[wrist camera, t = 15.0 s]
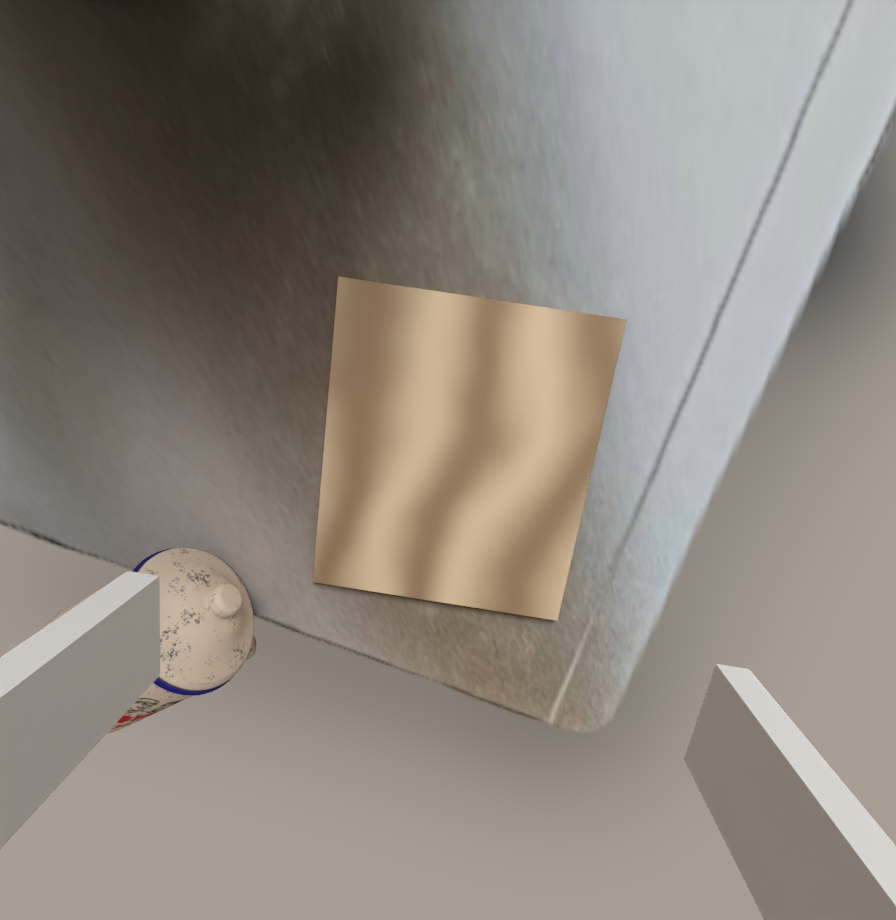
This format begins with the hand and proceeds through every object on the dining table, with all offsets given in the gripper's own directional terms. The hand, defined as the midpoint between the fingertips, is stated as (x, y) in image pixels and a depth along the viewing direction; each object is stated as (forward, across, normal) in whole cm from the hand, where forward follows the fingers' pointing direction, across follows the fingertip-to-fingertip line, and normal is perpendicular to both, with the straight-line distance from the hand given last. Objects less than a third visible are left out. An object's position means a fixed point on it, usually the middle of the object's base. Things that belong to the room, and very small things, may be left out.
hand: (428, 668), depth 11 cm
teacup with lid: (+18, -21, -18) cm, 32 cm away
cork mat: (+20, 0, 0) cm, 21 cm away
